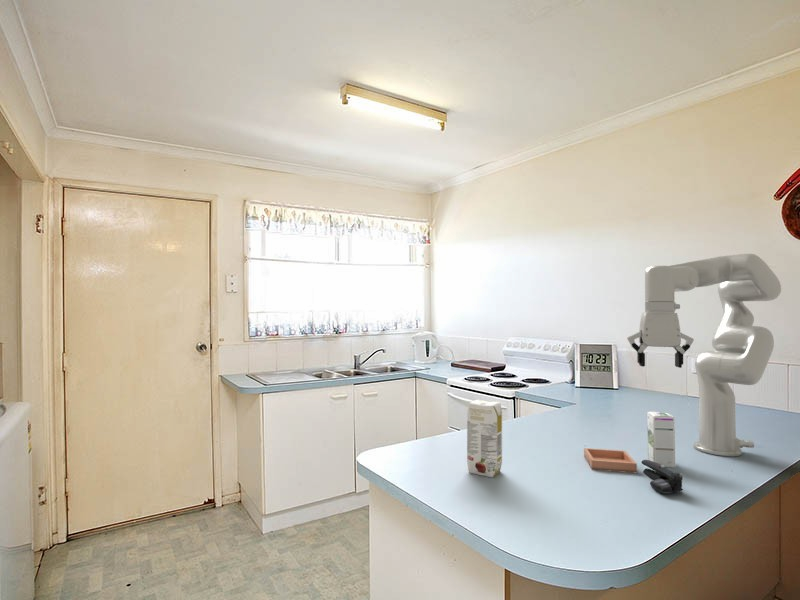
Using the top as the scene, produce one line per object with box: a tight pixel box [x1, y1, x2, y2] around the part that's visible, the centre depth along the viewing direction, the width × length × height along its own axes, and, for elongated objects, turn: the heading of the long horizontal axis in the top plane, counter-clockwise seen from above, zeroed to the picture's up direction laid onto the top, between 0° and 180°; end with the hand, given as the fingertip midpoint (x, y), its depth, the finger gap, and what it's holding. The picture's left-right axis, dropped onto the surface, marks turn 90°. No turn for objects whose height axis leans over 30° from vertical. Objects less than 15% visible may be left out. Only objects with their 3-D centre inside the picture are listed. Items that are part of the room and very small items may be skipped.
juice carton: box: [466, 399, 503, 478], centre depth 124 cm, size 8×9×19 cm
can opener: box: [641, 459, 684, 494], centre depth 116 cm, size 18×7×6 cm, turn 172°
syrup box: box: [646, 411, 676, 468], centre depth 131 cm, size 6×6×14 cm
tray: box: [583, 447, 638, 473], centre depth 131 cm, size 12×12×2 cm
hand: (660, 366), depth 132 cm, fingers open, 9 cm apart
